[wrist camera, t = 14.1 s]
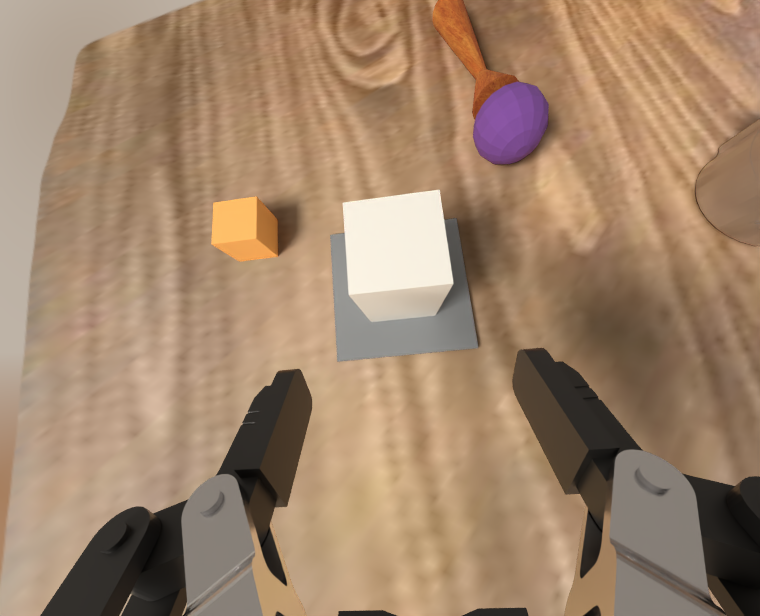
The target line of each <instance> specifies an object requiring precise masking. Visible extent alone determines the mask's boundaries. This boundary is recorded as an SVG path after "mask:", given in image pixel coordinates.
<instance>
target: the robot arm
mask: <svg viewBox="0 0 760 616" xmlns="http://www.w3.org/2000/svg"><path fill="white" fill-rule="evenodd" d="M695 191H696V198H697V202H698V204H699V207H700V209H701V211H702V212H703V214H704V215H705V217H706V218H707V220H708V221H709V222H711V223H712V224H713V225H714V226H715V227H716V228H717V229H718V230H720V231H721V232H723V233H724V234H726V235H727V236H729V237H731V238H733V239H735V240H738V241H740V242H743V243H747V244H750V245H754V246H760V119H759V120H757V121H756V122H754V123H753V124H752V125H750V126H749V127H747V128H746V129H744V130H743V131H742V132H740V133H739V134H737V135H736V136H734V137H733V138H731V139H730V140H729V141H727V142H726V143H724V144H723V145H721V146H720V147H719V153H718V156H717V157H716V158H714V159H713V160H712V161H710V162H709V163H708V164H707V165H706V166H705V167H704V168H703V169H702V171H701V172H700V174H699V176H698V179H697V182H696V190H695ZM513 389H514V393H515V396H516V398H517V400H518V402H519V404H520V406H521V408H522V410H523V412H524V413H525V415H526V417H527V419H528V421H529V423H530V425H531V427H532V429H533V431H534V433H535V435H536V437H537V439H538V441H539V443H540V445H541V447H542V449H543V451H544V453H545V455H546V457H547V459H548V461H549V463H550V465H551V467H552V469H553V471H554V473H555V475H556V477H557V479H558V481H559V483H560V484H561V486H562V488H563V490H564V492H565V494H580V495H581V496H582V498H583V500H584V502H585V504H586V506H585V508H584V514H583V521H582V528H581V535H580V542H579V549H578V556H577V563H576V570H575V576H574V581H573V585H572V588H571V591H570V593H569V596H568V600H567V604H566V608H565V614H564V616H760V477H757V476H754V477H748V478H745V479H744V480H742V481H741V482H740V483H739V484H737V485H736V486H732V485H728V484H723V483H719V482H715V481H710V480H706V479H702V478H697V477H693V476H689V475H686V474H682V473H681V472H680V471H679V470H677V469H676V468H675V467H674V466H672V465H671V464H670V463H668V462H667V461H665V460H663V459H662V458H660V457H658V456H656V455H653V454H651V453H648V452H645V451H643V450H642V449H641V448H640V447H639V446H638V445H637V443H636V442H635V441H634V440H633V439H632V437H631V436H630V435H629V434H628V432H627V431H626V430H625V429H624V428H623V426H622V425H621V424H620V423H619V422H618V420H617V419H616V418H615V417H614V415H613V414H612V413H611V412H610V411H609V409H608V408H607V407H606V406H605V404H604V403H603V402H602V401H601V400H599V399H598V396H597V395H596V393H595V392H594V391H593V390H592V389H591V388H589V385H588V384H587V382H586V381H585V380H584V379H583V378H582V376H581V375H580V374H579V373H578V372H577V371H576V370H574V369H573V368H571V367H570V366H568V365H567V364H565V363H564V362H563V361H562V362H555V361H554V360H553V358H552V357H551V356H550V354H549V353H548V352H547V350H545V349H544V348H535V349H523V350H519V351H518V354H517V359H516V364H515V369H514V375H513ZM311 411H312V397H311V394H310V391H309V389H308V386H307V384H306V381H305V379H304V376H303V374H302V372H301V370H300V369H293V370H282V371H278V372H277V374H276V376H275V378H274V380H273V383H272V385H271V386H265V387H264V388H263V389H262V390H261V391H260V392H259V394H258V395H257V396H256V397H255V398H254V400H253V402H252V404H251V406H250V408H249V410H248V414H246V416H245V418H244V420H243V422H242V423H243V425H241V427H240V429H239V431H238V433H237V435H236V437H235V439H234V441H233V443H232V445H231V447H230V449H229V451H228V453H227V455H226V458H225V460H224V462H223V464H222V466H221V468H220V470H219V471H218V473H217V475H216V476H214V477H212V478H210V479H208V480H207V481H205V482H204V483H203V484H202V485H200V486H199V487H198V488H197V489H196V490H195V491H194V493H193V494H192V495H191V496H190V498H189V499H188V500H186V501H183V502H181V503H178V504H176V505H173V506H171V507H168V508H166V509H163V510H161V511H158V512H156V513H151V512H150V511H149V510H147V509H146V508H144V507H132V508H130V509H127V510H125V511H123V512H121V513H119V514H118V515H116V516H115V517H114V518H112V519H111V520H110V521H109V522H107V523H106V524H105V525H104V526H103V527H102V528H101V529H100V530H99V531H98V532H97V534H96V535H95V536H94V537H93V539H92V540H91V541H90V543H89V544H88V546H87V547H86V549H85V550H84V552H83V553H82V555H81V556H80V558H79V559H78V561H77V562H76V563H75V565H74V566H73V568H72V569H71V571H70V572H69V574H68V575H67V577H66V578H65V580H64V581H63V583H62V584H61V586H60V587H59V589H58V590H57V592H56V593H55V595H54V596H53V598H52V599H51V601H50V602H49V604H48V605H47V606H46V608H45V609H44V611H43V612H42V614H41V615H40V616H119V615H120V613H121V611H122V609H123V607H124V605H125V603H126V601H127V599H128V597H129V595H130V594H132V595H131V597H130V599H129V601H128V603H127V605H126V607H125V609H124V611H123V613H122V615H121V616H182V614H183V611H184V608H185V606H186V603H187V609H186V612H185V614H184V615H183V616H307V615H306V612H305V610H304V607H303V605H302V603H301V601H300V599H299V597H298V595H297V594H296V592H295V590H294V587H293V585H292V582H291V579H290V576H289V573H288V570H287V567H286V564H285V561H284V558H283V555H282V552H281V549H280V545H279V542H278V539H277V536H276V533H275V530H274V527H273V524H272V522H271V519H272V515H273V512H274V508H275V507H287V505H288V501H289V497H290V493H291V489H292V485H293V482H294V478H295V474H296V470H297V466H298V462H299V458H300V454H301V450H302V446H303V442H304V439H305V435H306V431H307V427H308V423H309V419H310V415H311ZM708 587H709V589H710V590H711V592H712V593H713V595H714V596H715V598H716V599H717V601H718V602H719V604H720V605H721V607H722V608H723V610H724V611H725V612H724V611H723V610H722V609H721V608H720V607H718V606H716V605H715V604H714V603H713V601H712V599H711V597H710V595H709V591H708ZM338 616H396V615H394V614H391V613H388V612H386V611H383V610H377V611H339V614H338ZM463 616H528V613H527V609H526V608H486V609H476V610H474V611H472V612H469V613H467V614H465V615H463Z"/></svg>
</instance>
